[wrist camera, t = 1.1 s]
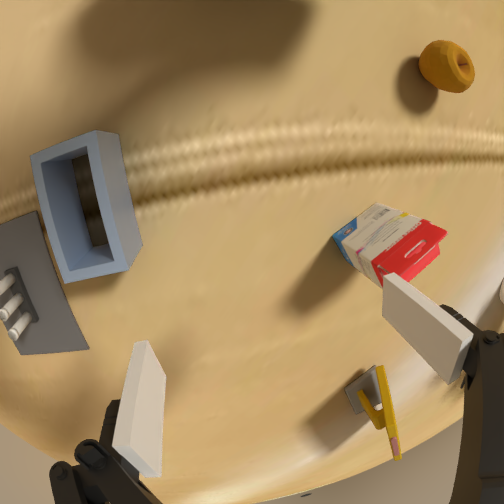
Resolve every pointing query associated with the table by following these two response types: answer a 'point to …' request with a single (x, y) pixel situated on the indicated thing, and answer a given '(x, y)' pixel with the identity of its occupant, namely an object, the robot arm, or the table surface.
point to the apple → (447, 66)
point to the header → (34, 292)
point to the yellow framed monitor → (375, 403)
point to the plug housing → (71, 213)
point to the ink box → (389, 243)
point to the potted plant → (502, 292)
